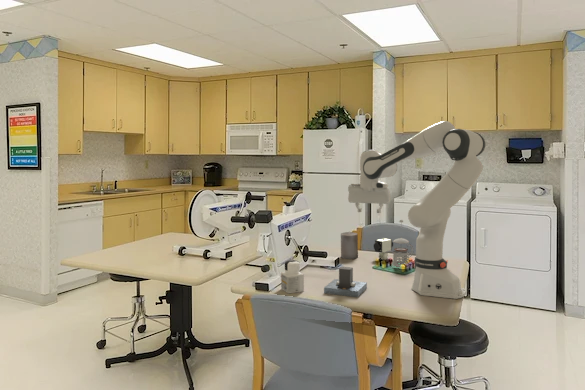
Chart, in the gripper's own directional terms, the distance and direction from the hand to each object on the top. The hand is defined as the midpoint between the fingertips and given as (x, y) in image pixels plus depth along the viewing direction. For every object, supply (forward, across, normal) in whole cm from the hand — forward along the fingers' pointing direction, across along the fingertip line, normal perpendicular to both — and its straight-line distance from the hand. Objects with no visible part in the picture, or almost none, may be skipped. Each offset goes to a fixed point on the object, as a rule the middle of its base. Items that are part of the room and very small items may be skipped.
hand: (369, 212), depth 223 cm
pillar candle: (+31, -20, +34) cm, 51 cm away
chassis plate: (+31, -3, -28) cm, 42 cm away
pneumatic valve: (+31, -2, +37) cm, 48 cm away
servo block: (+31, -3, -28) cm, 42 cm away
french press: (+31, +12, +22) cm, 40 cm away
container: (+31, -25, -36) cm, 54 cm away
